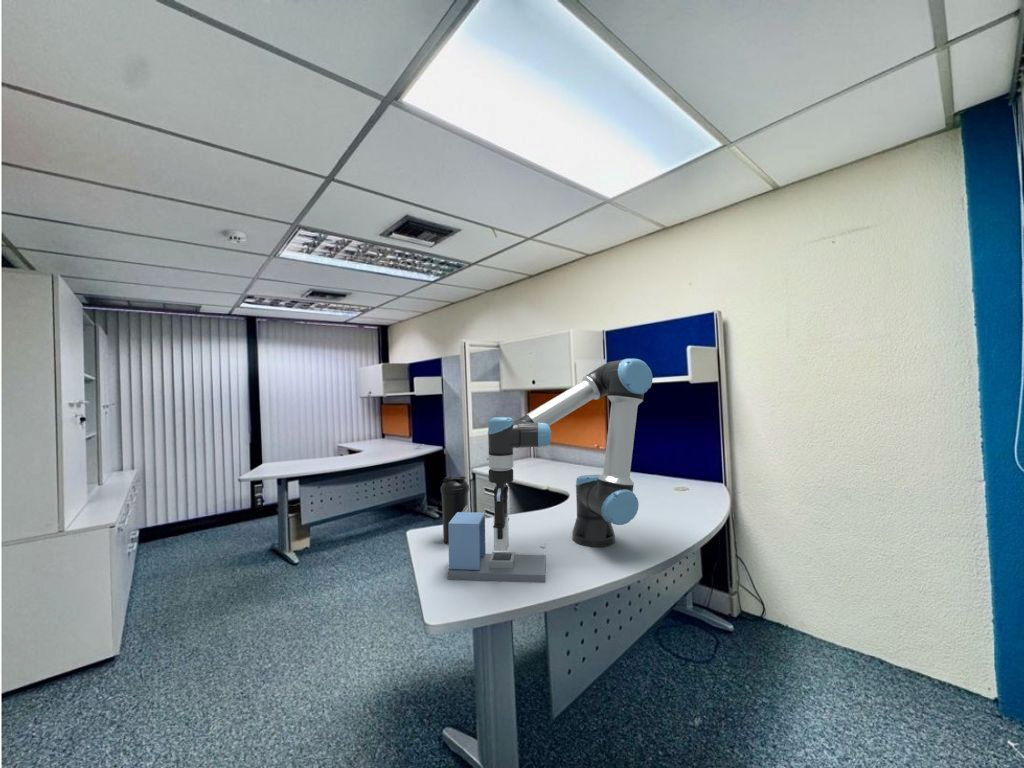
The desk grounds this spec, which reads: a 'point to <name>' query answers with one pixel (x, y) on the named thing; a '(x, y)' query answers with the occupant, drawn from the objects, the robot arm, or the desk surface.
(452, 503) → the water bottle
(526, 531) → the desk surface
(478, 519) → the housing cover
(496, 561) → the housing base
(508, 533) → the steel block
